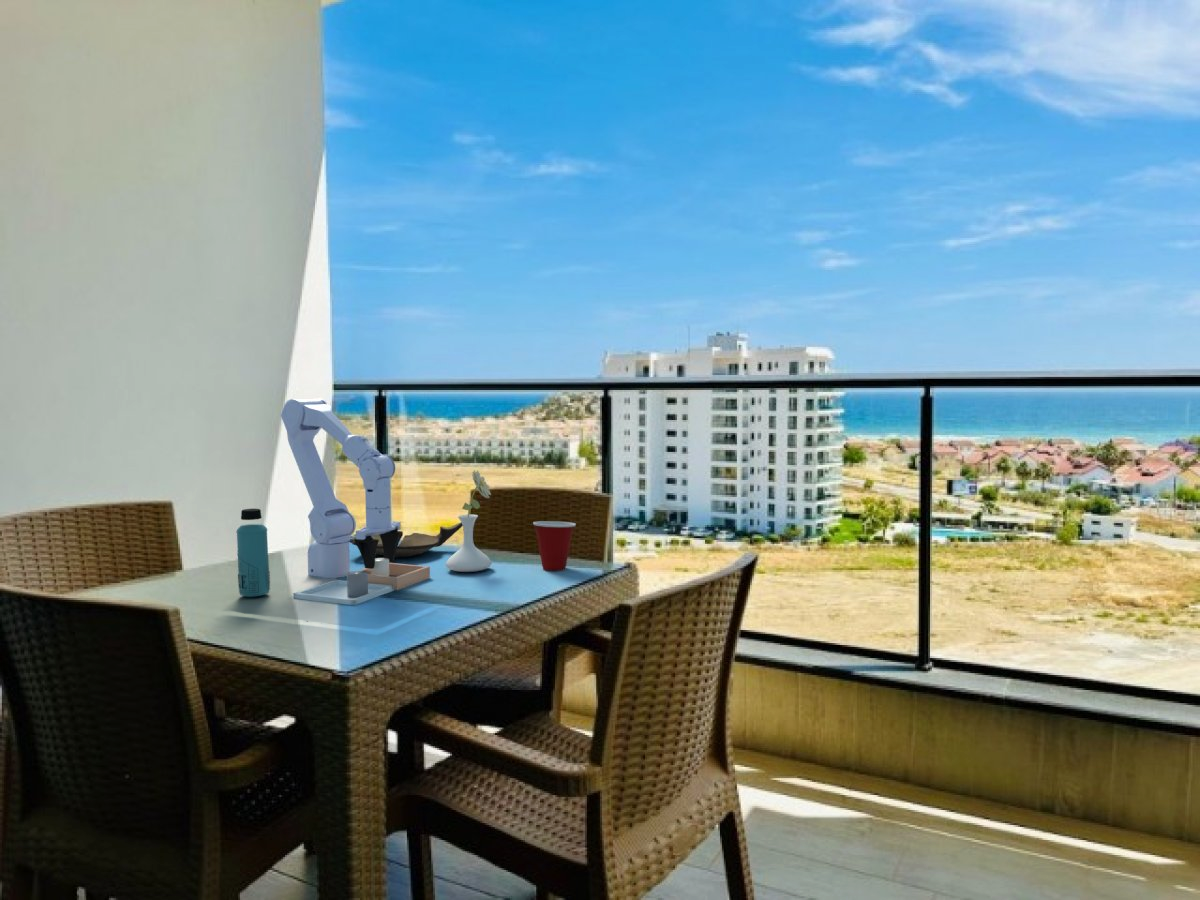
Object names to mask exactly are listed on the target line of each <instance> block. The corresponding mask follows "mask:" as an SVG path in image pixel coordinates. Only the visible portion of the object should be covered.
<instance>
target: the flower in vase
mask: <svg viewBox="0 0 1200 900" xmlns="http://www.w3.org/2000/svg"><path fill="white" fill-rule="evenodd" d="M472 480H473V482H474V485H475V488H474V490H473V493H472V495H471V498H470V502H469V504H468V503H467V502H464V504H463V506H462V510H465V511H468V512H467V514H466V513H465V514H459V515H457V518H458V519H459V521H460V523H462V531H463V542H462V546H461V547H460V548H459V549H458V550H457V551H456V552H454V553H453V554H452V555H451V556H449V558H448V559H447V560H446V563H445V566H446V568H447V569H449V570H451V571H454V572H460V573H473V572H479V571H484V570H486V569H488V568H490V567H491V565H492V561H491V559H490V557H488V556H487V554H485V553H484V552H482V551H481V550H480V549H478V548H477V547H476V545H475V544H474V538H473V537H474V536H473V535H474V526H475V522H476V520H477V519H478V517H479V515H478V514H471V513H470V512H471V509H472V508H474V509H476V510H478V509H480V507H481V505H480V503H479V501H477V499H474V495H475V493H476V491H477V490H478V492H479V494H480V496H483V497H484V498H486V499H490V496H492V493H491V491H490V486H489V485H488V484H487V482H486V481H485V477H484V476H481V474H480V472H479V470H475V469H474V470H473V471H472ZM489 495H490V496H489Z"/></svg>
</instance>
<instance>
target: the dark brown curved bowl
mask: <svg viewBox="0 0 1200 900" xmlns="http://www.w3.org/2000/svg"><path fill="white" fill-rule="evenodd" d="M461 528H463V526H462V523H461V522H459V523H456V524H454V525H452V526H449V527H446V526H442V525H441V526H440V527H439V533H438V534H437V535H430V534H427V533H426V534H425V533H420V532H412V533H411V534H406V535H405V534H404V537H402V540H400V542H399V544H398V547H397V550H396V554H395V558H409V557H413V556H417V555H419V554H423V553H425V552H427V551H429V550H432V549H433V548H438V547H442V545H444V544H445V543H446V542H447V541H448V540H449V539H450V538H451V537H452V536H453V535H454V534H455V533H457V532H458V531H459V530H460V529H461ZM354 538H356V536H354V537H352V538H351V539H350V540H349V544H352V545H353V546H356V547H357V545H356V544H355V543H354ZM372 538H373V539H377V540H379V542H378V544H377V548H376V553H375V555H380V556H383V557H384V551H383V544H382V540H381V537H380V535H375V536H372Z"/></svg>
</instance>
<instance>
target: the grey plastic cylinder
mask: <svg viewBox="0 0 1200 900" xmlns="http://www.w3.org/2000/svg"><path fill="white" fill-rule="evenodd" d="M346 581H347V596H348V597H350V598H358V597H360V596H363V595H366V594H368V572H367V571H358V570H352V571H351V570H350V572H348V573H347V576H346Z"/></svg>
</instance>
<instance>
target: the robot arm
mask: <svg viewBox="0 0 1200 900" xmlns="http://www.w3.org/2000/svg"><path fill="white" fill-rule="evenodd" d="M280 417H281V420H282V422H283V424H284V428H285V430H286V436H287V441H288V445H289V447H290V449H291V452H292V455H293V457H294V459H295V463H296V465H297V467H298V470H299V473H300V475H301V477H302V480H303V483H304V486H305V488H306V491H307V493H308V496H309V498H310V501H311V503H312V506H313V507H312V509H311V510H310V512H309V513H308V515H307V518H308V521H309V527H310V529H309V531H310V534H311V537H312V538H313V539H314V540H313V541H311V543H310V544H309V546H308V548H307V549H308V550H307V573H308V574H307V575H308V576H310V577H311V576H313V577H319V578H324V579H330V578H331V579H335V578H344V577H347V573H348V572H351V568H350V567H351V566H350V565H351V562H350V561H351V559H350V556H351V555H350V542H349V540H350V539H352V535H353V534H354V533H355V537H356V538H354V537H353V538H354V543H355V544H356V545H357V546H356V545H355V546H356V547H357V549H358V551H359V553H360V556H361V558H362V562H363V565H364V569H365V568H369V569H373V568H374V566H375V559H376V548H377V544H378V542H379V540H377V539H373V538H372V536H375V535H380V537H381V540H382V544H383V551H384V556H383V558H387V559H389V563H395V562H394V561H395V559H396V557H395V554H396V550H397V547H398V545H399V544H400V542H401V539H402V538H403V535H404V532H403V531H402V530H401V529H402V527H401V524H402V523H401V521H396V520H394V521H392V500H391V499H392V497H391V496H392V495H391V490H392V489H391V479H392V477H394V475H395V473H396V463H395V461H394V459H393V458H392V457H391V455H389V454H382V453H381V452H380V451H379V450H378V449H376V448H375V447H374V446H373V445H371V444H370V443H369V442H368V441H367V437H365V436H364V435H360V434H353V433H352V432H351V431H350V430H349V429H348V428H347V427H346V425H344V423H342V421H341V420H340V419H339V418H338V417H337V415H335V414H334V413H333V408H332V406H331V405H329V403H327V402H326V400H324V399H323V398H319V397H318V398H311V399H310V398H308V399H304V398H303V399H295V398H291V399H289V400H286V402H285V404H284V406H283V408H282V411H281V414H280ZM321 429H322V430H323V431H324V432H326V434H328V435H329V436H331V437H332V438H333V439H334V441H336V442H338V443H339V444H340V445H341V451H342V454H343V455H344V456H345V457H347V458H348V459H349V460H350V461H351V462H352V463H353V465H355V466H356V467H357V468H358V472H359V476H360V478H361V479H362V484H363V488H364V491H365V499H364V500H365V526H363V527H362V528H360V529H357V530H356V528H357V526H356V525H357V523H356V519H355V517H354V515H353V514H352V513H351V512H350V511H349V509H348V507H347V505H346V503H344V502H342V501H340V500H339V499H337V498H336V496H335V493H334V490H333V487H332V486H331V483H330V480H329V478H328V475H327V473H326V469H325V467H324V465H323V463H322V459H321V456H320V455H319V452H318V450H317V447H316V444H315V441H314V439H315V436H317V435H318V433H319V432H320V430H321Z"/></svg>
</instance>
